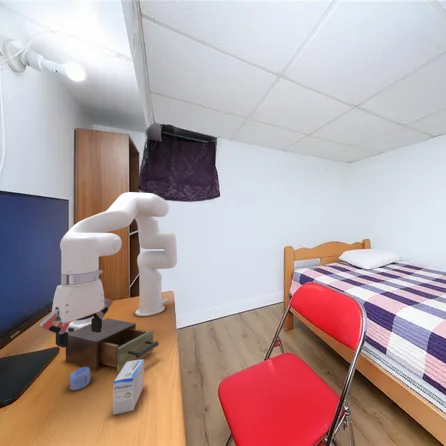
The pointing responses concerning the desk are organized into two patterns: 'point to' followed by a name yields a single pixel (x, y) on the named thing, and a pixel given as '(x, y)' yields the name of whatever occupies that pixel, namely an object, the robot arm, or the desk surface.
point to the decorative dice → (79, 378)
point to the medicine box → (128, 386)
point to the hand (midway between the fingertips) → (80, 338)
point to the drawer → (126, 347)
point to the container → (79, 323)
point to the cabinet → (92, 342)
